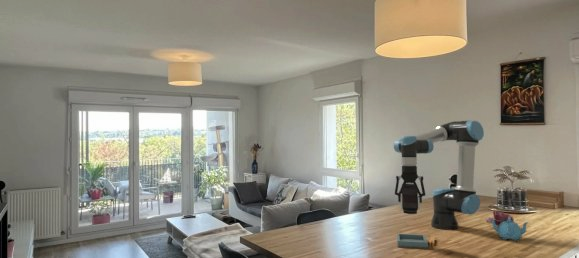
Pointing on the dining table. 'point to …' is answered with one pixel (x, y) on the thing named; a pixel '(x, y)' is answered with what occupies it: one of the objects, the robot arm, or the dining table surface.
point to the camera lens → (409, 198)
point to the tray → (412, 241)
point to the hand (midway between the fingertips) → (410, 208)
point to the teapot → (509, 229)
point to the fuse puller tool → (432, 241)
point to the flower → (499, 217)
